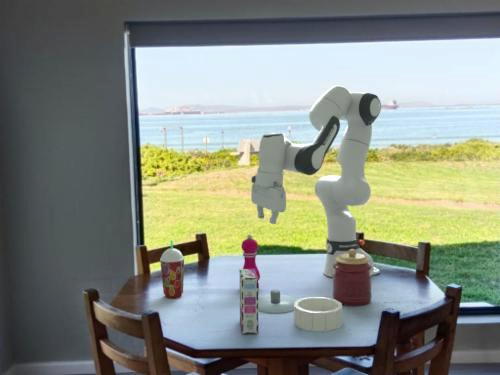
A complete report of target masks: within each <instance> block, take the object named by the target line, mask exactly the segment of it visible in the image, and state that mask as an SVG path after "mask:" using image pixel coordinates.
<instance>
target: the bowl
mask: <svg viewBox="0 0 500 375" xmlns="http://www.w3.org/2000/svg"><path fill="white" fill-rule="evenodd" d="M293 321H294V322H293V324H294V326H295V327H298V328H299V329H302V330H306V331H309V332H329V330H330V331H334V330H333V329H335V330H338V329H339V328H340V327H341V325H342V326H343V304H341V302H339V301H337V300H335V299H333V298H329V297H325V296H309V297H307V296H306V297H304V298H302V297H301V298H299V299H298V300H297V301H295V302H294V310H293ZM338 327H339V328H338Z"/></svg>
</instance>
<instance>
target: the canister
mask: <svg viewBox="0 0 500 375" xmlns="http://www.w3.org/2000/svg"><path fill="white" fill-rule="evenodd" d="M335 260H336V263H334V264H333V268H334V274H333V277H332V281H333V282H332V283H333V284H332V285H333V286H332V299H335V300H337V301H339V302H341V304H342V306H343V305H344V306H351V307H352V306H353V307H356V306H357V307H358V306H359V305H360V306H364V305H368V304H370V303H371V300H372V298H373V297H372V276H373V275H370V270H371V269H372V266H371V265H370V264H369V263H368V262H369V259H368V258H367V257H365V256H364V255H362V254H358V253H356V251H355V250H354V249H350V250H349V251H348V253H344V254H341V255H339V256H338V257H336V258H335Z"/></svg>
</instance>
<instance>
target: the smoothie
mask: <svg viewBox="0 0 500 375" xmlns="http://www.w3.org/2000/svg"><path fill="white" fill-rule="evenodd" d="M173 243H174V242H173V240H170V248H167V249H165V251H164V252H163V253H162V254H161V256H160V258H159V260H160V261H159V262H160V269H161V270H160V272H161V280H162V291H163V295H164V297H165V298H166V299H170V300H171V299H172V300H174V299H179V298H181V297H182V295H183V293H184V279H185V278H184V276H185V273H184V272H185V257H184V256H183V254H182V252H181V250H179V249H177V248H174V246H173Z"/></svg>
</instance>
